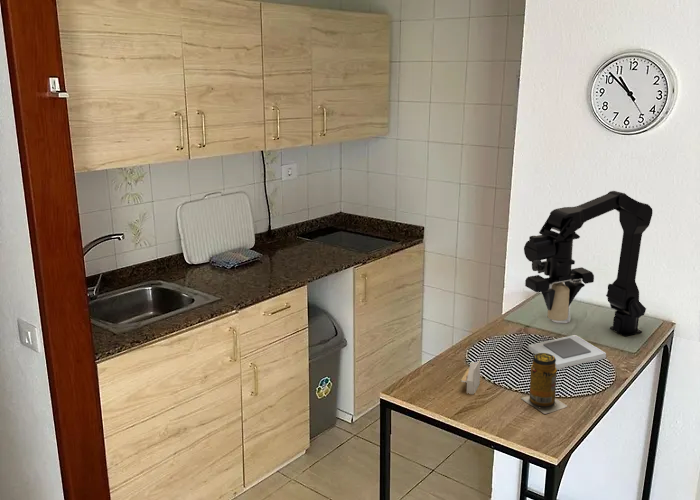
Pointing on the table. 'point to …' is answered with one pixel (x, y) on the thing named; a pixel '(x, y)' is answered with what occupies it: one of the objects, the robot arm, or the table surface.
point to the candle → (559, 303)
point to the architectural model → (472, 377)
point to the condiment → (543, 384)
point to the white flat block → (568, 351)
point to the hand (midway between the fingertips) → (558, 308)
